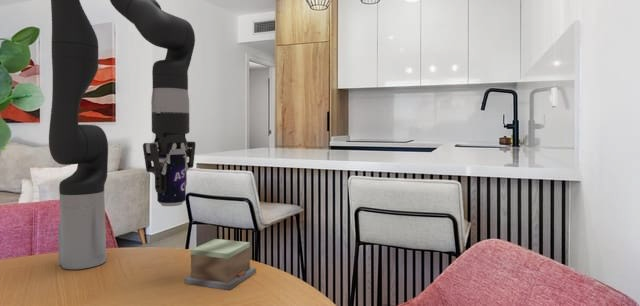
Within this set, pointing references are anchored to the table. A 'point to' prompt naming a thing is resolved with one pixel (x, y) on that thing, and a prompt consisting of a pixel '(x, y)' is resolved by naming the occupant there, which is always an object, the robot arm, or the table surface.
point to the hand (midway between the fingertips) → (171, 190)
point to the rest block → (220, 264)
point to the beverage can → (174, 180)
